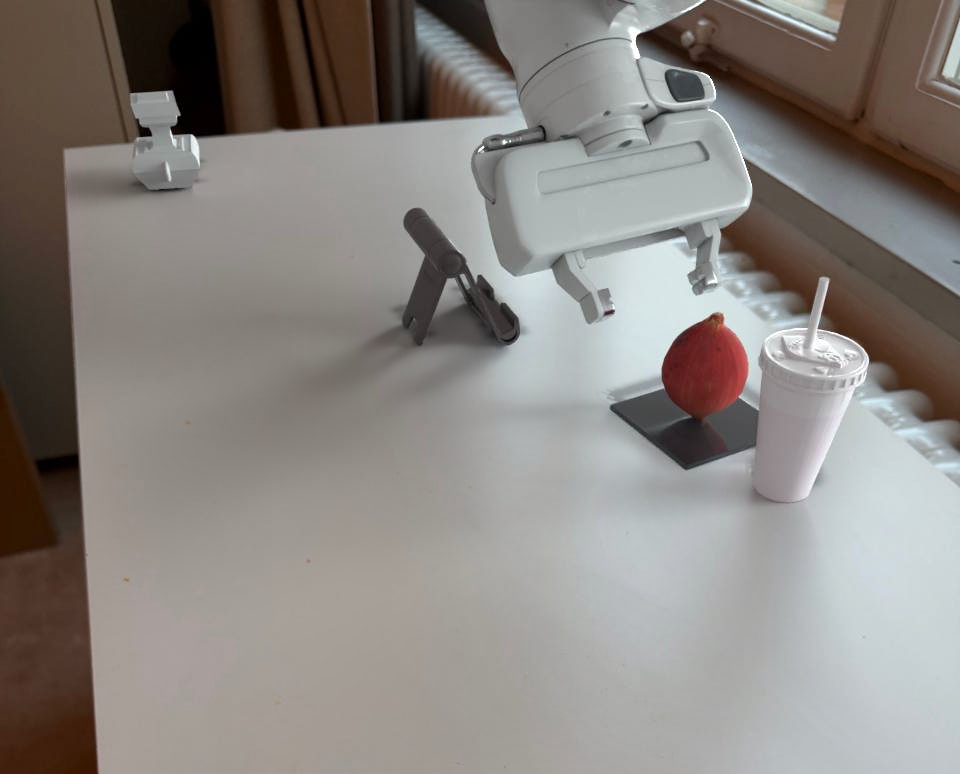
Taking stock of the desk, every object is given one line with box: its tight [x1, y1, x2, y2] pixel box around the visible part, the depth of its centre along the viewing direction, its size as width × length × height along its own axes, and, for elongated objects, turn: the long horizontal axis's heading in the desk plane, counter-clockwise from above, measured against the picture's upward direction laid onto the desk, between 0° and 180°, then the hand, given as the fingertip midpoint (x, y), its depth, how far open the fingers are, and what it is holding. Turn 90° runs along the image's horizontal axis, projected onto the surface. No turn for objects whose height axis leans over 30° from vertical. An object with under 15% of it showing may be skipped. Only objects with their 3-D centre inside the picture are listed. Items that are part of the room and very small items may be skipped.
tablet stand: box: [401, 207, 521, 347], centre depth 81 cm, size 9×8×8 cm
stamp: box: [129, 90, 201, 191], centre depth 104 cm, size 9×7×8 cm
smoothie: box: [752, 276, 870, 504], centre depth 63 cm, size 6×6×14 cm
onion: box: [660, 311, 750, 419], centre depth 71 cm, size 6×6×8 cm
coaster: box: [609, 387, 759, 471], centre depth 74 cm, size 9×9×1 cm
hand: (657, 305), depth 73 cm, fingers open, 8 cm apart
